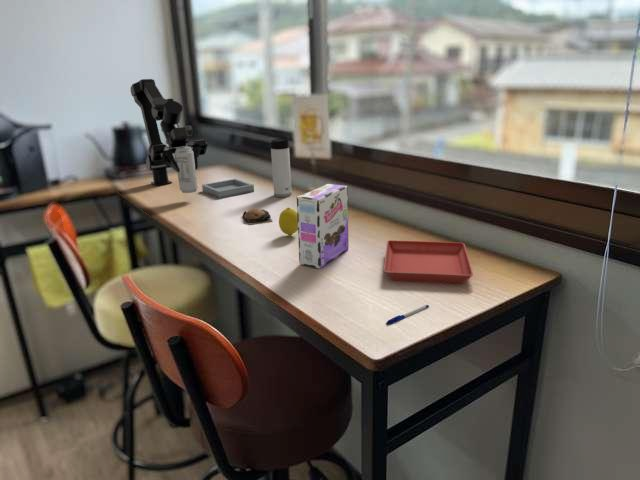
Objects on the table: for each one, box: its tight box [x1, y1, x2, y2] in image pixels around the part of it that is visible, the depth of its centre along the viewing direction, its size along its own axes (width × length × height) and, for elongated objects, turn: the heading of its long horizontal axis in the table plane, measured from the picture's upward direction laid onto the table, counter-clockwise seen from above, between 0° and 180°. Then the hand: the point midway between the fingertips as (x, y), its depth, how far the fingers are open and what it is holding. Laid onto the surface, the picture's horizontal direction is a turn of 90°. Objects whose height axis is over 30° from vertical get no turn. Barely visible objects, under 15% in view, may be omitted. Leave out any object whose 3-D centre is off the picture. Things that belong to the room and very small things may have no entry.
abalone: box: [241, 208, 273, 226], centre depth 144 cm, size 11×8×4 cm
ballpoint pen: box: [385, 304, 430, 326], centre depth 87 cm, size 10×1×1 cm, turn 127°
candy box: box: [296, 183, 350, 269], centre depth 111 cm, size 14×6×16 cm, turn 148°
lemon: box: [278, 206, 298, 237], centre depth 128 cm, size 6×6×8 cm
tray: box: [201, 178, 255, 200], centre depth 176 cm, size 14×14×2 cm
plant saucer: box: [383, 239, 474, 284], centre depth 106 cm, size 18×18×3 cm
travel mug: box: [270, 137, 293, 198], centre depth 166 cm, size 6×7×20 cm
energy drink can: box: [174, 145, 199, 194], centre depth 162 cm, size 6×6×15 cm
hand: (187, 170), depth 161 cm, fingers closed on energy drink can, 6 cm apart
